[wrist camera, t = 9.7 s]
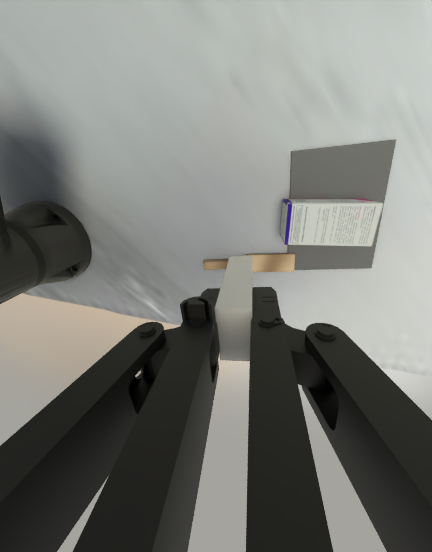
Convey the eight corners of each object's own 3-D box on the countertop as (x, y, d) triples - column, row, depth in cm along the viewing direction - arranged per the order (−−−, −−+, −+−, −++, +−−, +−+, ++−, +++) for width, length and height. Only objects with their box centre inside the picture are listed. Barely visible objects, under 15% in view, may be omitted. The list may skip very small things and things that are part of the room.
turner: (205, 271, 42) (204, 273, 41) (204, 255, 40) (202, 257, 39) (293, 270, 38) (294, 272, 37) (294, 253, 37) (295, 255, 36)
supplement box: (283, 246, 31) (373, 247, 30) (286, 202, 29) (385, 200, 27) (279, 236, 37) (356, 236, 35) (282, 198, 34) (364, 196, 32)
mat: (287, 269, 39) (287, 270, 39) (291, 151, 32) (291, 151, 32) (370, 267, 37) (371, 268, 36) (394, 139, 30) (396, 139, 29)
